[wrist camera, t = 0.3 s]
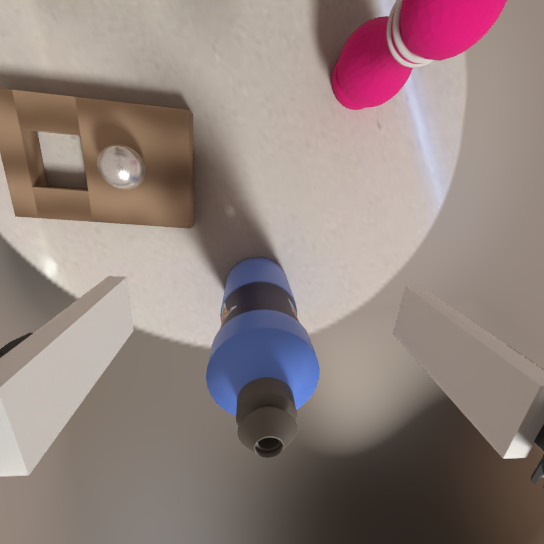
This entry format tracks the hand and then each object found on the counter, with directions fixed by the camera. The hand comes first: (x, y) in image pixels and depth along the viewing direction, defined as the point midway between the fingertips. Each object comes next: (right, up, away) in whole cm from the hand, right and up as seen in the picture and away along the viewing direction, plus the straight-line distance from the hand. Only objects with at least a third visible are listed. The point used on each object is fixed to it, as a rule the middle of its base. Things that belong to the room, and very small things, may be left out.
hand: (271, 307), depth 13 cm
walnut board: (-20, +15, +20) cm, 32 cm away
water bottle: (-2, 0, +27) cm, 27 cm away
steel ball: (-16, +13, +16) cm, 26 cm away
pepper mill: (+10, +24, +19) cm, 33 cm away
